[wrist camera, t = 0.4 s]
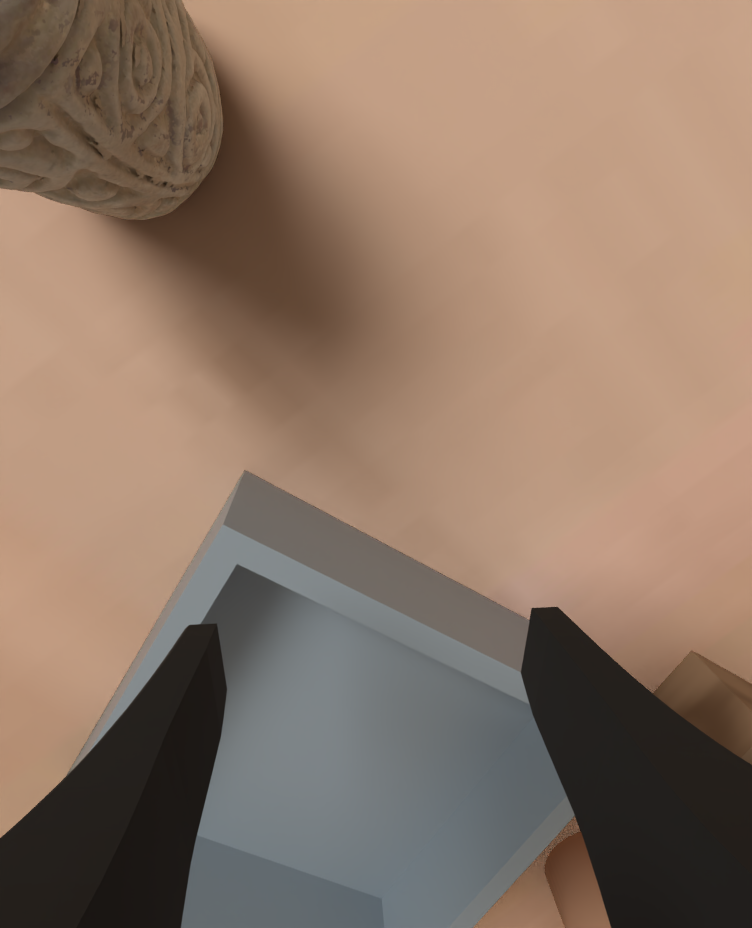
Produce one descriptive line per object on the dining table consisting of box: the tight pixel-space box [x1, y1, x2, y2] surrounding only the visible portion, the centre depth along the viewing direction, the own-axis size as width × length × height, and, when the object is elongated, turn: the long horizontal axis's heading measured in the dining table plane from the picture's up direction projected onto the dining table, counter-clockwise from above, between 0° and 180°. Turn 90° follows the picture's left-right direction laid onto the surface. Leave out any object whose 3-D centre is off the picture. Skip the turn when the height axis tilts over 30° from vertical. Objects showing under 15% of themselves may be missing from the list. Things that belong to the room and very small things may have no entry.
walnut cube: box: [653, 651, 752, 765], centre depth 26 cm, size 5×5×5 cm
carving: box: [0, 0, 223, 220], centre depth 12 cm, size 6×8×12 cm
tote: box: [67, 471, 575, 928], centre depth 24 cm, size 18×18×5 cm
